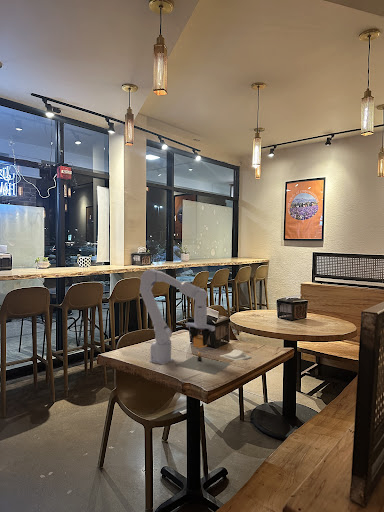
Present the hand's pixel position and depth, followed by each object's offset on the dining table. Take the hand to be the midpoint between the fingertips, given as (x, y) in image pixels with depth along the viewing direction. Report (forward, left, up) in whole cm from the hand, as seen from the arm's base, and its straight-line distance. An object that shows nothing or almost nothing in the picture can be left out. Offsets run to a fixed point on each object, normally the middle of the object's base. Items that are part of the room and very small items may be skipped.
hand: (200, 344), depth 161 cm
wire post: (-1, +1, -9) cm, 9 cm away
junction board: (+4, -3, -9) cm, 10 cm away
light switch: (+10, +17, -10) cm, 22 cm away
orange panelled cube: (0, 0, -1) cm, 1 cm away
